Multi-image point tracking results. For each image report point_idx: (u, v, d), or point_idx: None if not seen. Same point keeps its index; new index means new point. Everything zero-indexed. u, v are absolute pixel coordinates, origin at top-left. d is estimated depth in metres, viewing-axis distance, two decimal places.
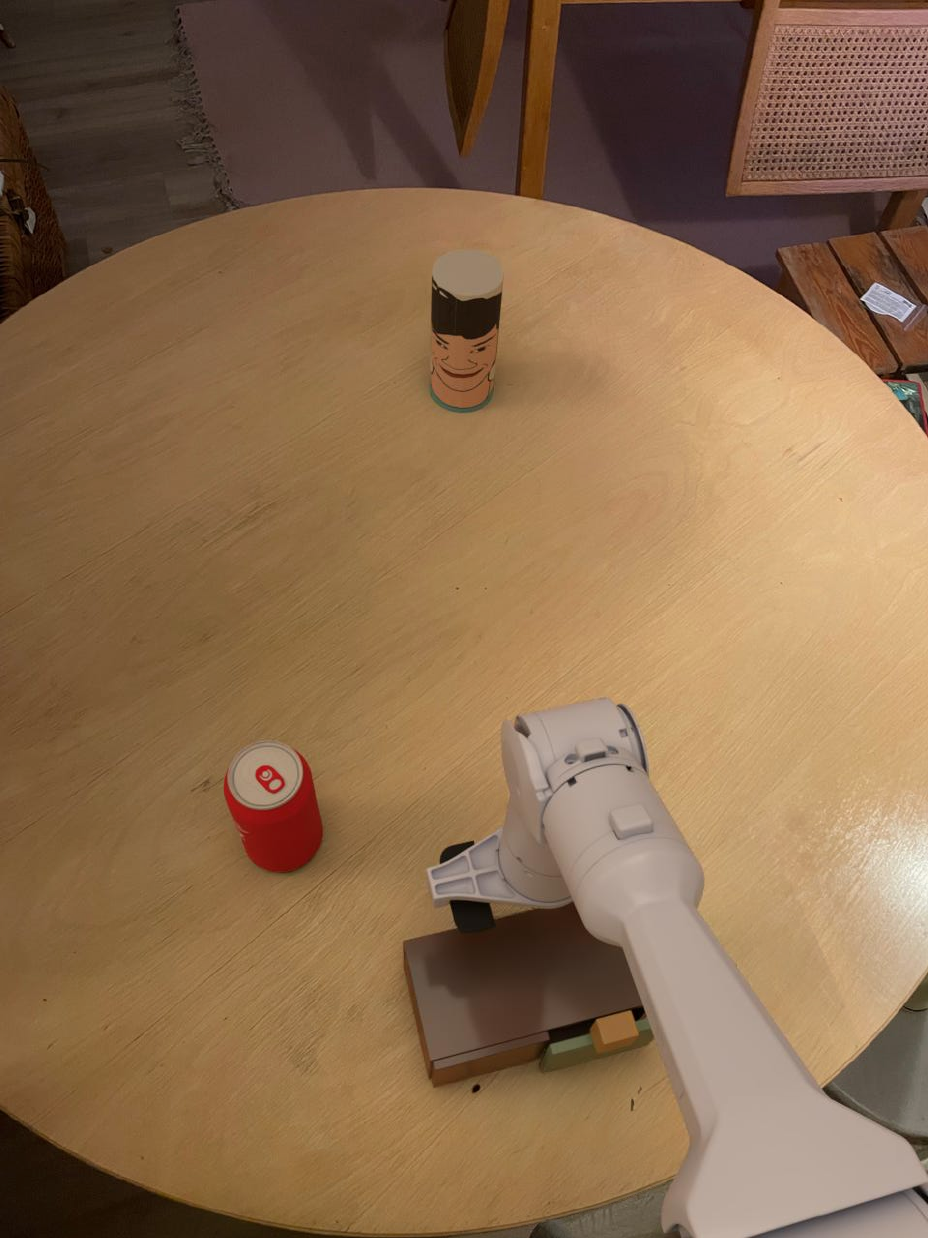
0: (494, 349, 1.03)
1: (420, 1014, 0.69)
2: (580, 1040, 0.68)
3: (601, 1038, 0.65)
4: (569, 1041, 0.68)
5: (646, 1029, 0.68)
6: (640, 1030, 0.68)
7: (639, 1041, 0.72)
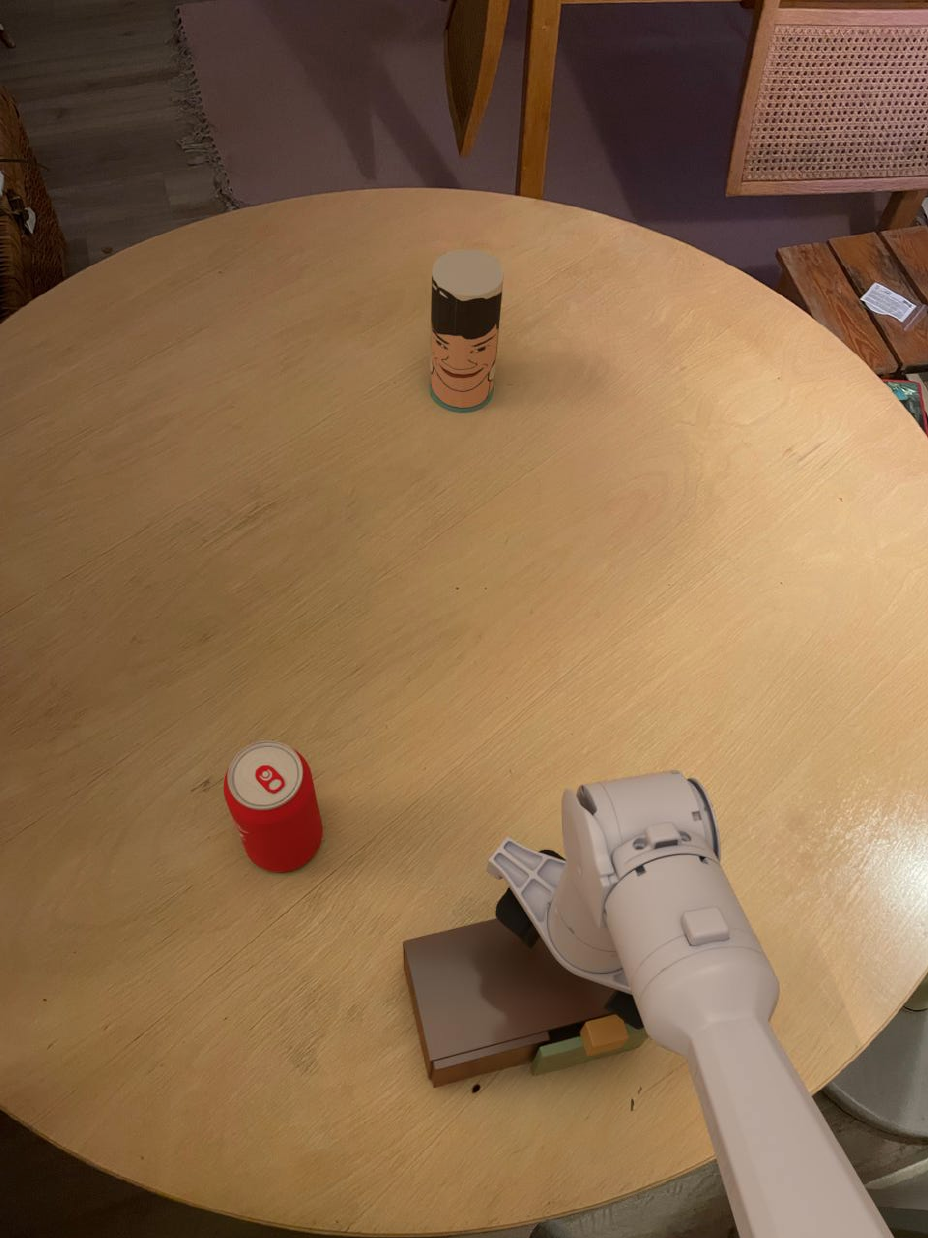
0: (494, 349, 1.03)
1: (420, 1014, 0.69)
2: (570, 1043, 0.68)
3: (591, 1041, 0.65)
4: (559, 1044, 0.68)
5: (636, 1032, 0.68)
6: (630, 1033, 0.68)
7: (630, 1044, 0.72)
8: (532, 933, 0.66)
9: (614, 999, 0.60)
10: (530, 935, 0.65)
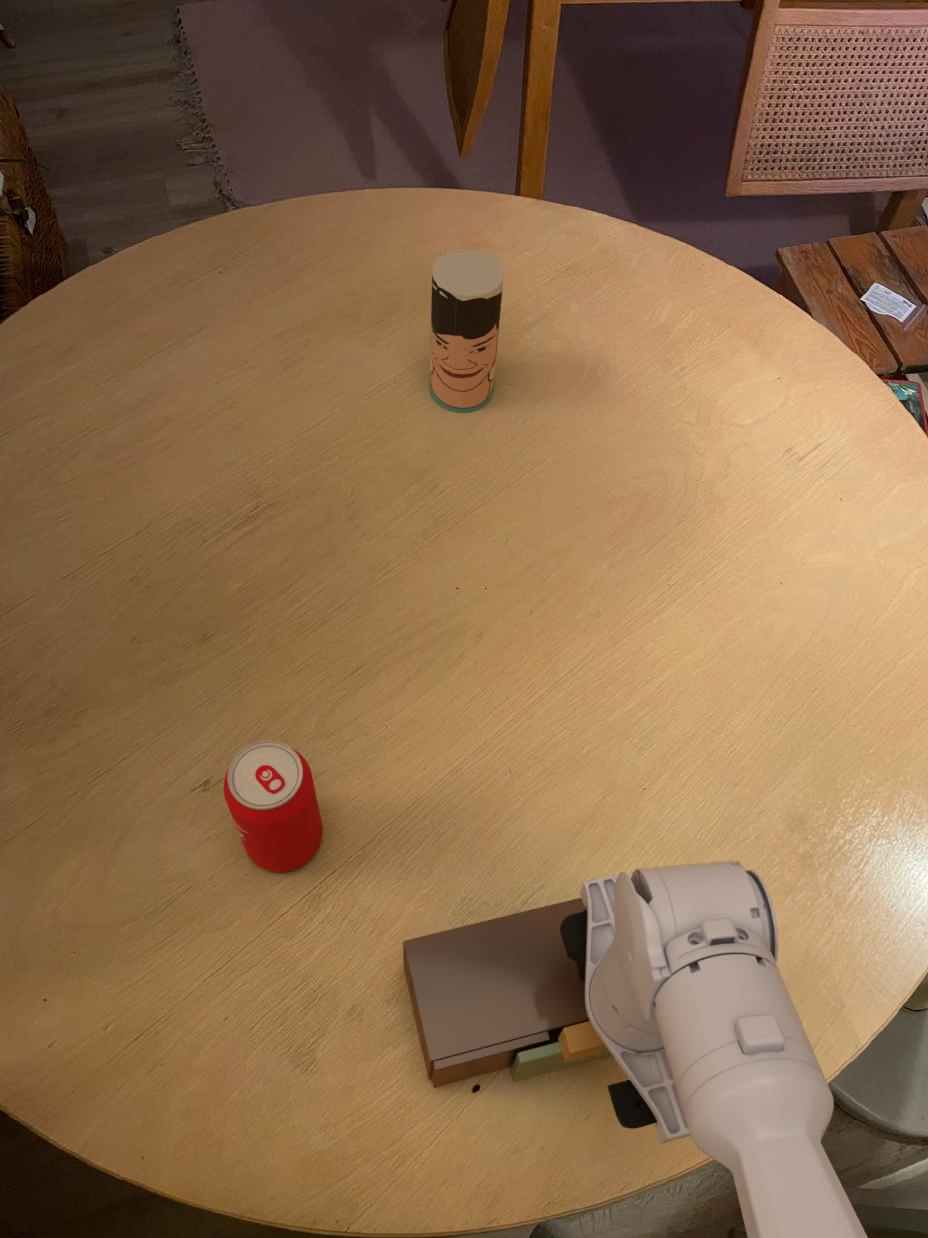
0: (494, 349, 1.03)
1: (420, 1014, 0.69)
2: (548, 1049, 0.67)
3: (568, 1047, 0.65)
4: (537, 1050, 0.67)
5: None
6: None
7: None
8: None
9: (617, 1084, 0.59)
10: (583, 966, 0.66)
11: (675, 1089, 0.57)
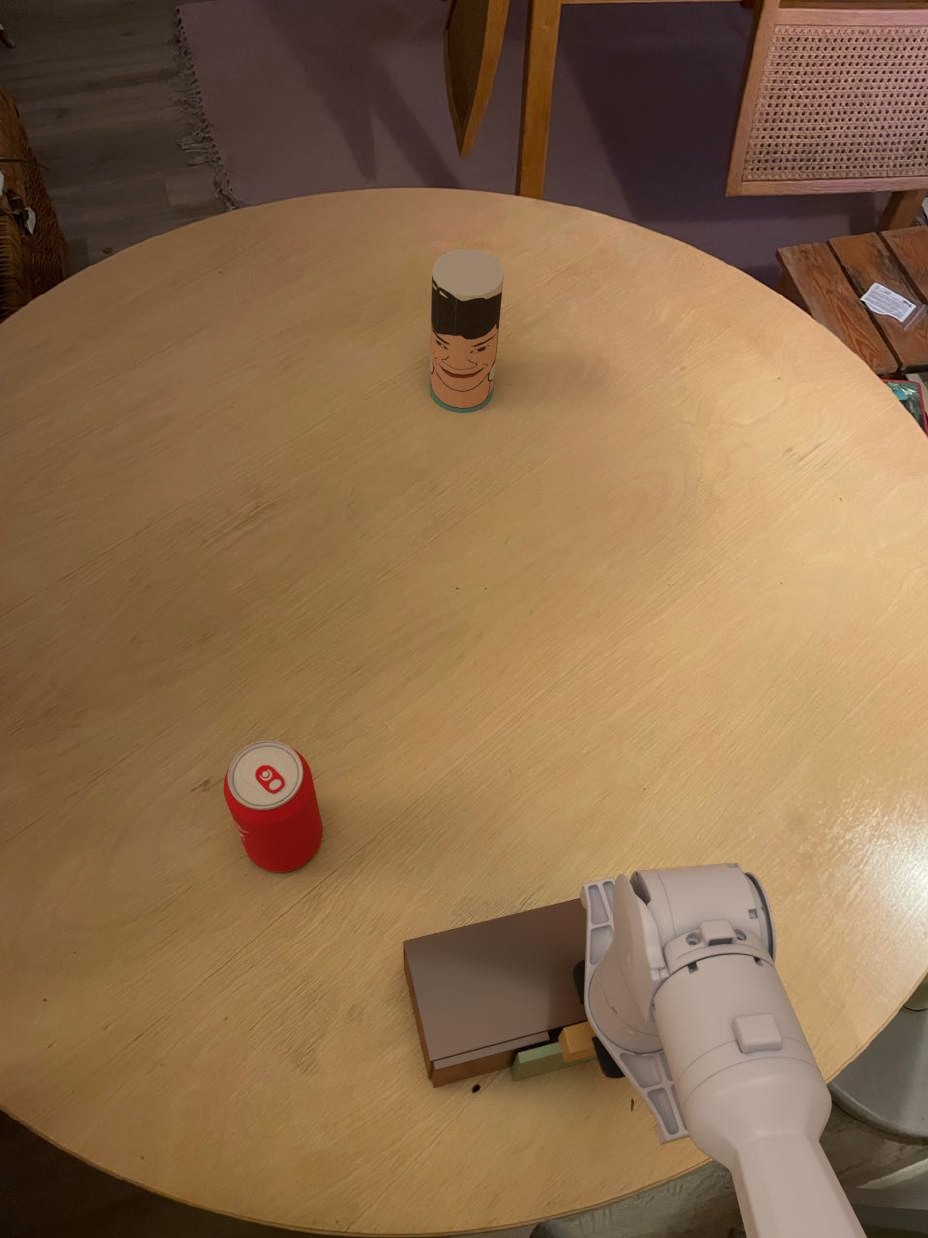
0: (494, 349, 1.03)
1: (420, 1014, 0.69)
2: (548, 1049, 0.67)
3: (568, 1047, 0.65)
4: (537, 1050, 0.67)
5: None
6: None
7: None
8: None
9: None
10: None
11: (674, 1090, 0.57)
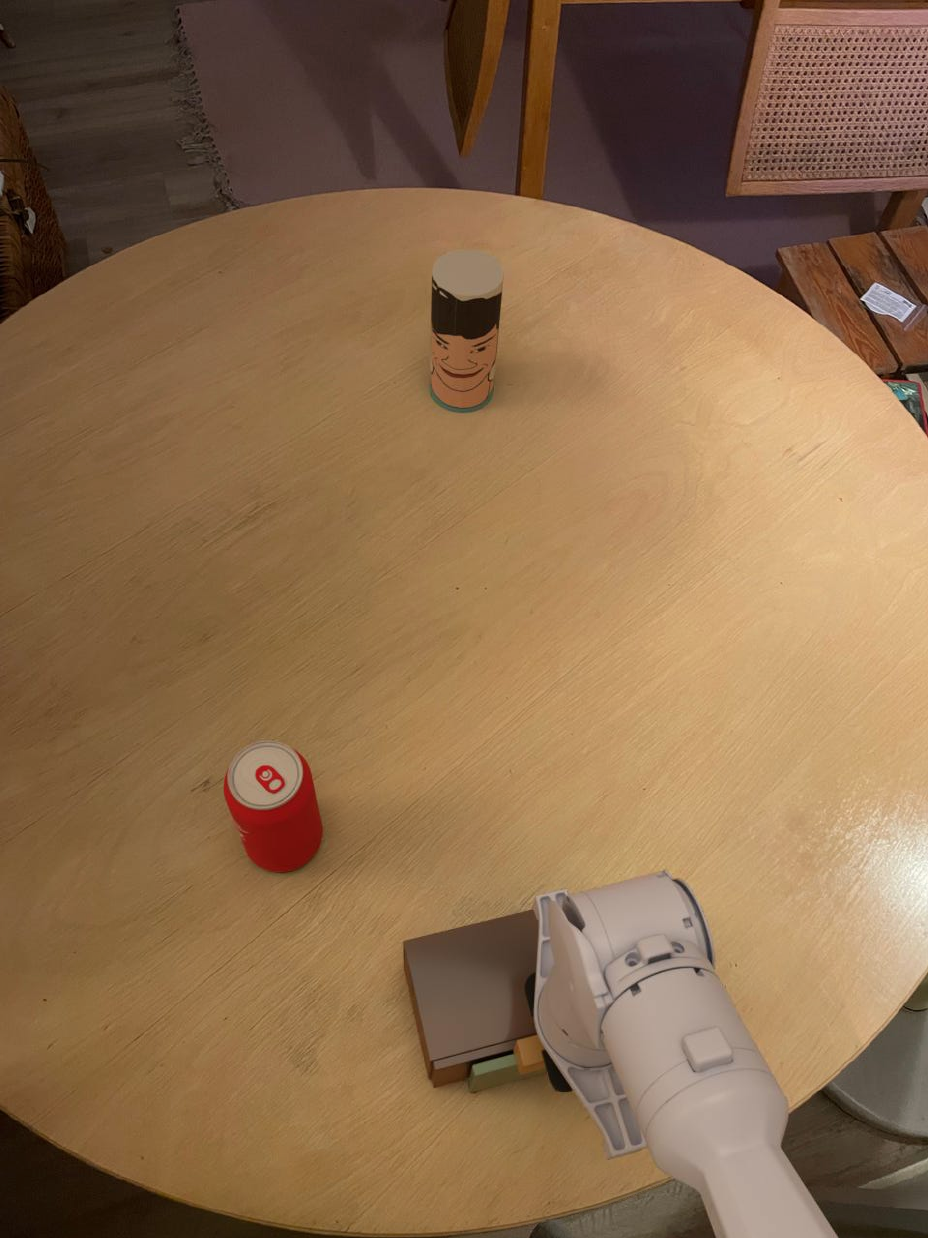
0: (494, 349, 1.03)
1: (420, 1014, 0.69)
2: (503, 1061, 0.67)
3: (521, 1060, 0.64)
4: (492, 1062, 0.67)
5: None
6: None
7: None
8: None
9: None
10: None
11: (622, 1105, 0.57)
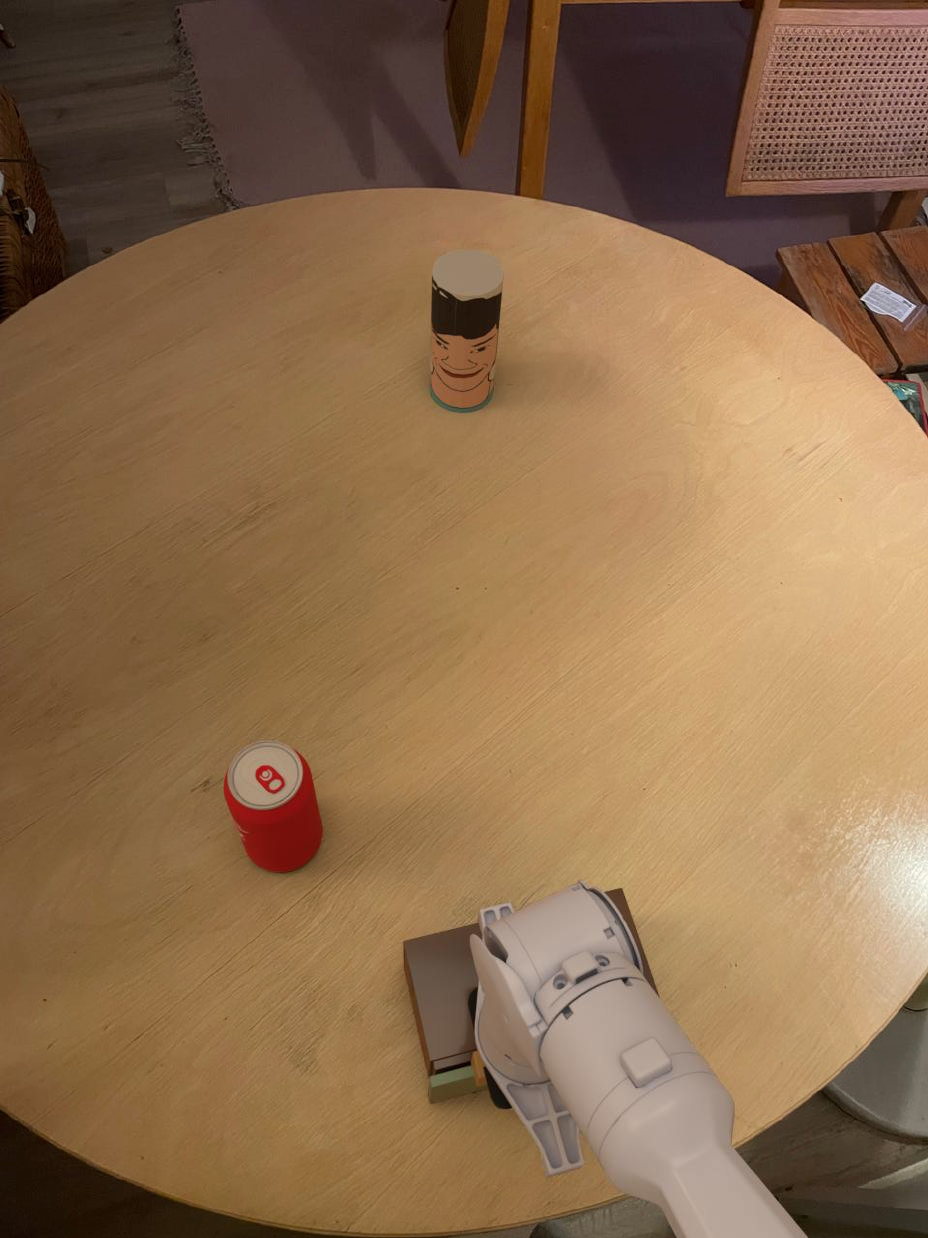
0: (494, 349, 1.03)
1: (420, 1014, 0.69)
2: (460, 1072, 0.66)
3: (477, 1071, 0.64)
4: (449, 1073, 0.66)
5: None
6: None
7: None
8: None
9: None
10: None
11: (561, 1122, 0.56)
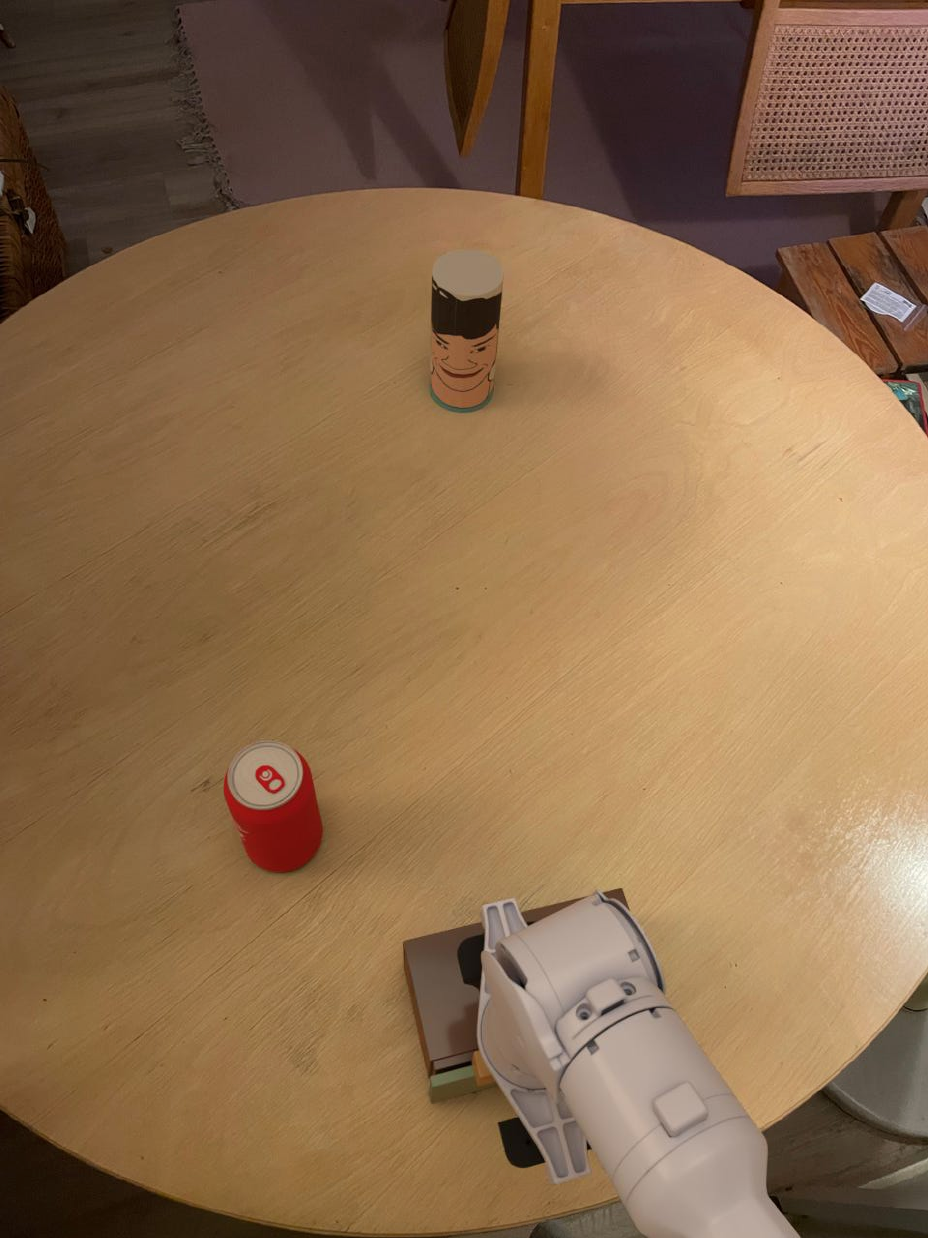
0: (494, 349, 1.03)
1: (420, 1014, 0.69)
2: (461, 1072, 0.66)
3: (478, 1071, 0.64)
4: (450, 1073, 0.66)
5: None
6: None
7: None
8: None
9: (508, 1121, 0.56)
10: None
11: (566, 1129, 0.54)
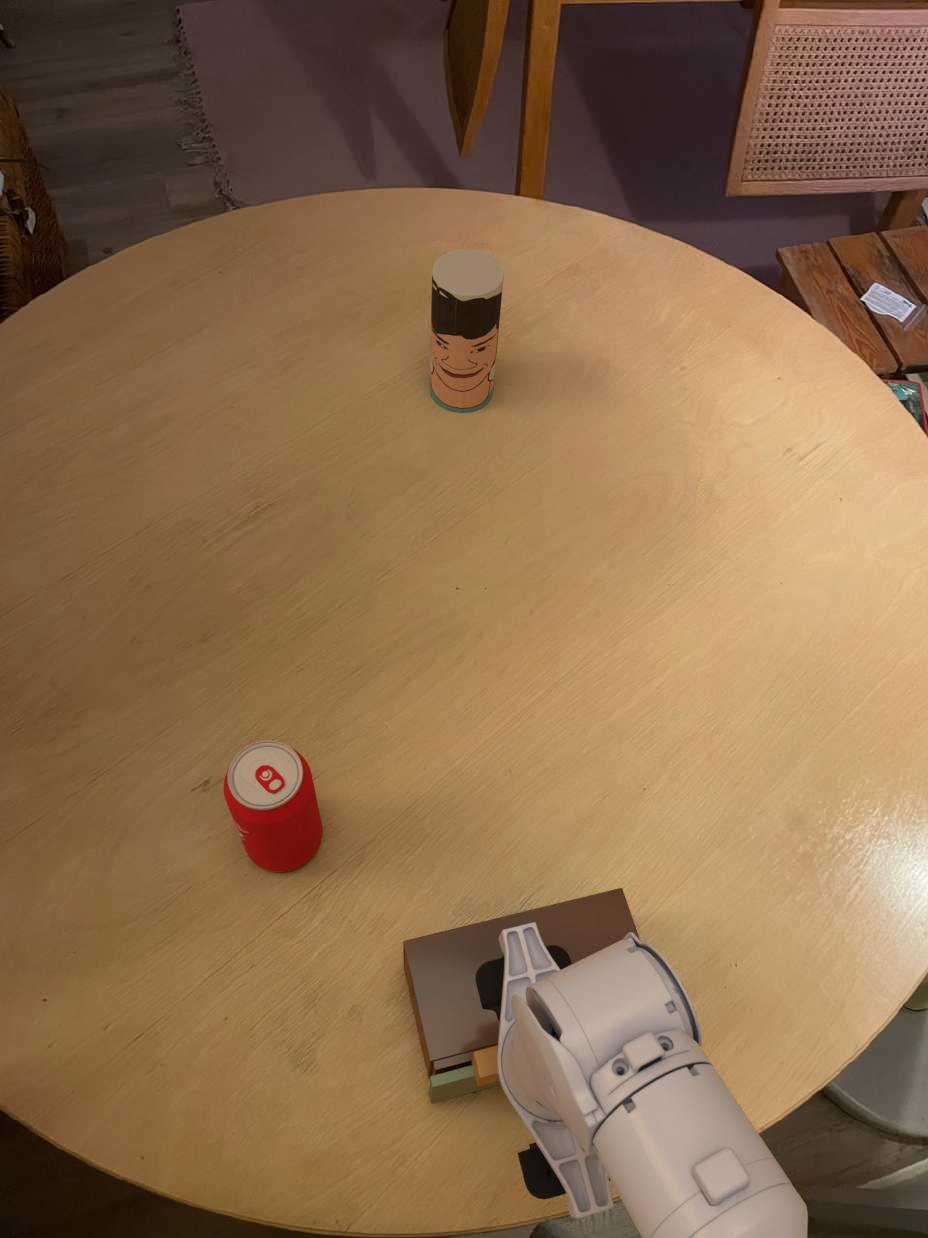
0: (494, 349, 1.03)
1: (420, 1014, 0.69)
2: (461, 1072, 0.66)
3: (478, 1071, 0.64)
4: (450, 1073, 0.66)
5: None
6: None
7: None
8: None
9: (528, 1151, 0.55)
10: (500, 1011, 0.61)
11: (588, 1161, 0.53)
